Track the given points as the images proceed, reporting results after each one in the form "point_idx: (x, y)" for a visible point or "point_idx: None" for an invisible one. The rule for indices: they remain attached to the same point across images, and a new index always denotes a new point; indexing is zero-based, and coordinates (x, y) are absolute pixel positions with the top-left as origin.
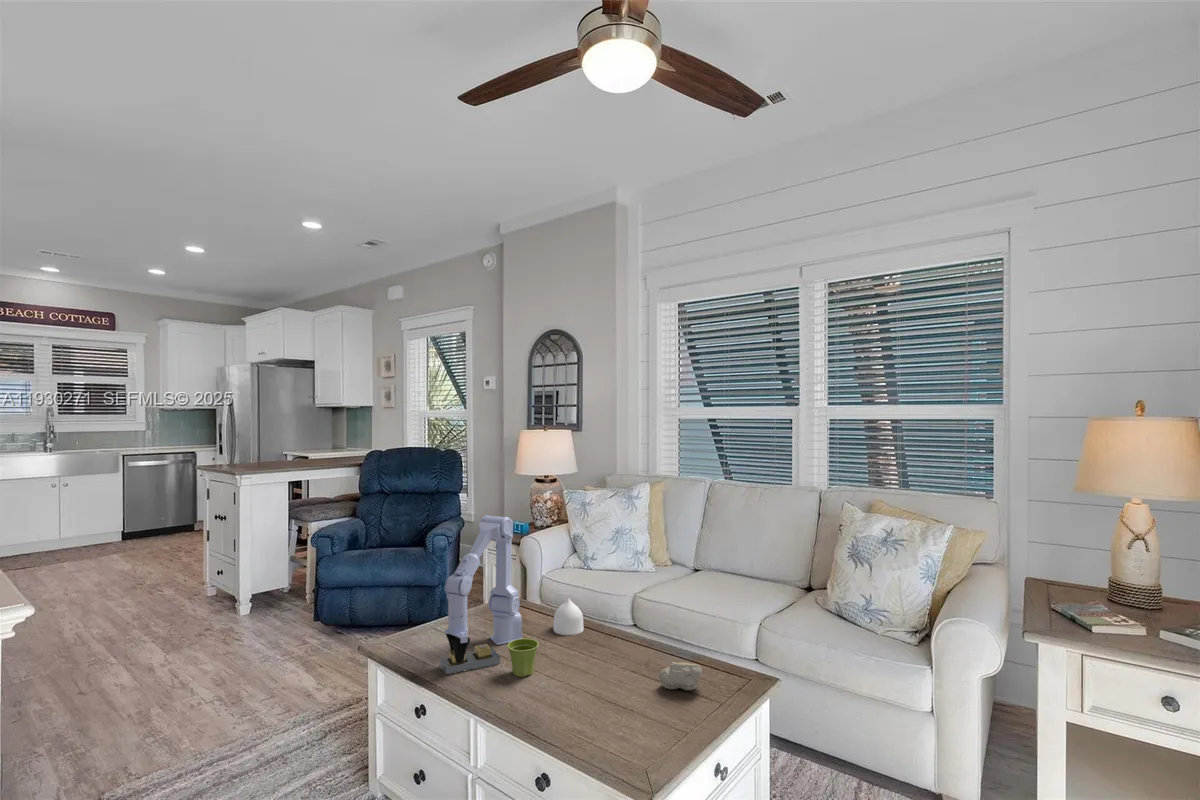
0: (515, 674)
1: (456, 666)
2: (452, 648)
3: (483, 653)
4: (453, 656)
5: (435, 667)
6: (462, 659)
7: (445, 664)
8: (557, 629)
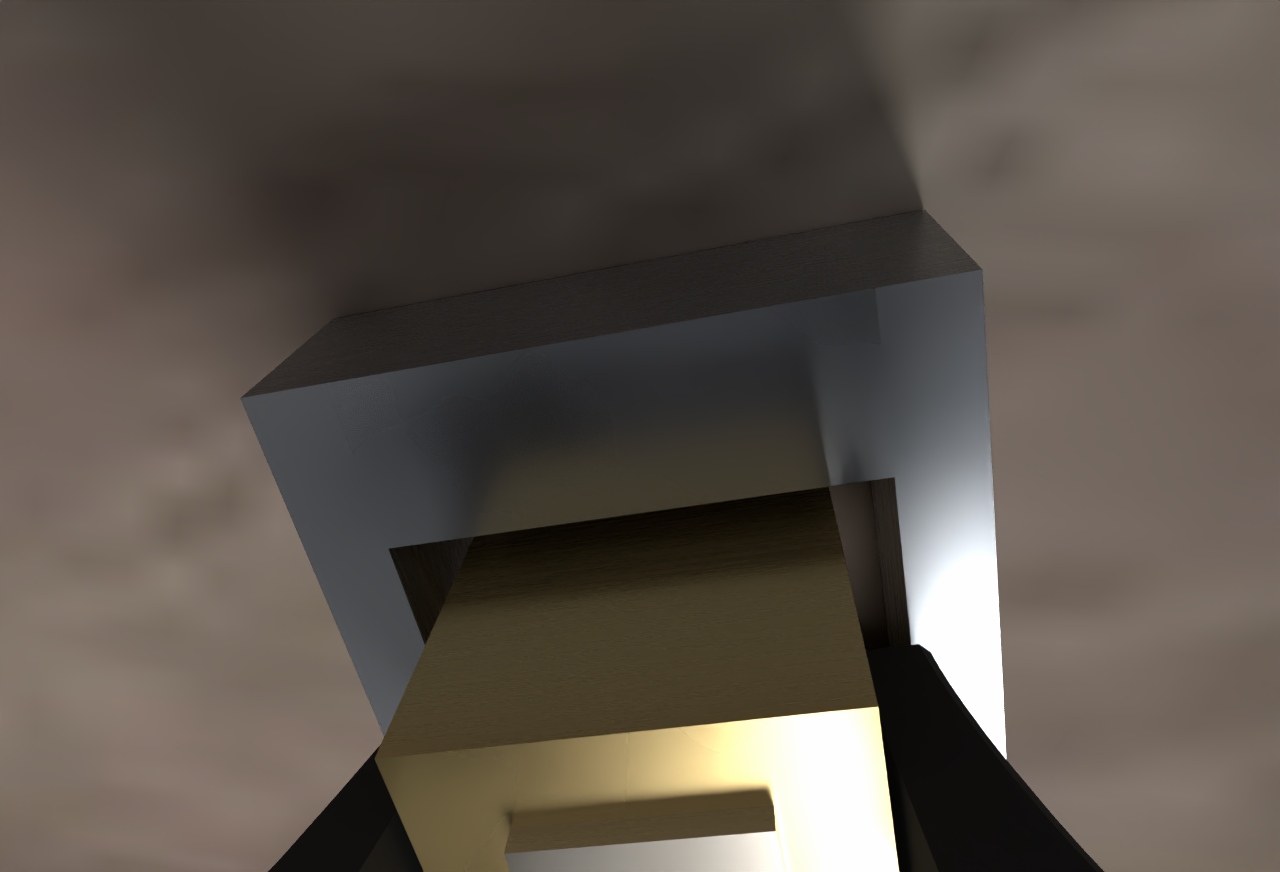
0: None
1: (356, 635)
2: (925, 868)
3: None
4: (405, 755)
5: (940, 72)
6: None
7: (461, 400)
8: None
